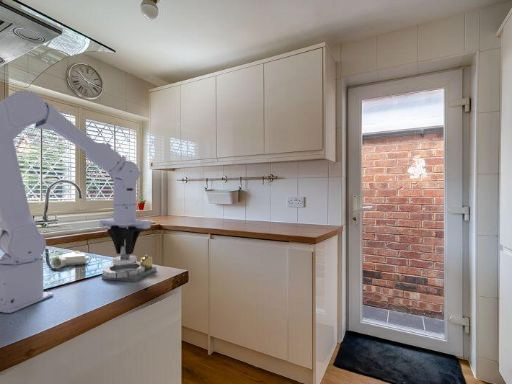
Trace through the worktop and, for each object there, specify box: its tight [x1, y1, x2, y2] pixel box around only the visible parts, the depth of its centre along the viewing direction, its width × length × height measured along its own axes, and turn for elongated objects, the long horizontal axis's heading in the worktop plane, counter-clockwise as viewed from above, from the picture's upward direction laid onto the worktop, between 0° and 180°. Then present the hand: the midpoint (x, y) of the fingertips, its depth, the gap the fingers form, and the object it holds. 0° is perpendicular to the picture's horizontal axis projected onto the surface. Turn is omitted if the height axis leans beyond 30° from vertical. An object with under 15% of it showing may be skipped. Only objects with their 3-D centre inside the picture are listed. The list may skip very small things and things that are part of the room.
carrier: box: [101, 254, 157, 283], centre depth 78 cm, size 11×11×5 cm
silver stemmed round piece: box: [112, 244, 138, 267], centre depth 78 cm, size 6×6×5 cm
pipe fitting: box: [51, 250, 90, 269], centre depth 88 cm, size 8×4×7 cm
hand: (125, 253), depth 78 cm, fingers closed on silver stemmed round piece, 2 cm apart
